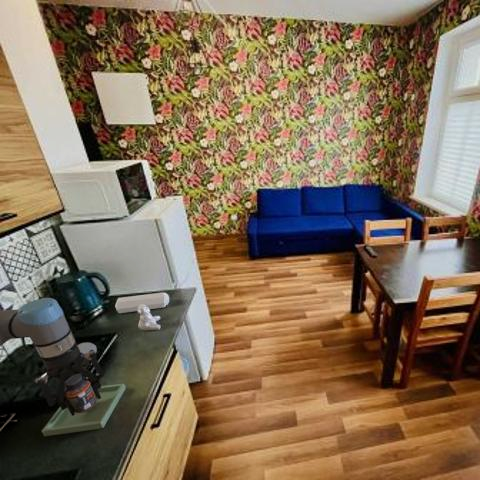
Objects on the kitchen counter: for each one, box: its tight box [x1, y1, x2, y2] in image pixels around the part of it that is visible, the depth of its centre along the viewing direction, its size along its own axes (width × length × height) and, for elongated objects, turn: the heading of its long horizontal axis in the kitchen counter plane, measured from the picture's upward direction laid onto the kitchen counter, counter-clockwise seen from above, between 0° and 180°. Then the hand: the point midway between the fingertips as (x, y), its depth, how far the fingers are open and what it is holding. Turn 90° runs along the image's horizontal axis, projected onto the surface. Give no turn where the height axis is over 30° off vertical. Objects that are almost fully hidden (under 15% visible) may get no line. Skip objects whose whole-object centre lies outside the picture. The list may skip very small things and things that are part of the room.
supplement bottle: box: [64, 373, 97, 413], centre depth 82 cm, size 6×6×11 cm
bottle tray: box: [41, 383, 127, 437], centre depth 85 cm, size 16×14×2 cm
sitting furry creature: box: [136, 304, 162, 332], centre depth 119 cm, size 10×9×12 cm
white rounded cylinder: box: [114, 292, 170, 314], centre depth 133 cm, size 7×7×24 cm
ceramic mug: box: [77, 341, 98, 366], centre depth 100 cm, size 11×8×8 cm
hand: (85, 404), depth 84 cm, fingers closed on supplement bottle, 6 cm apart
